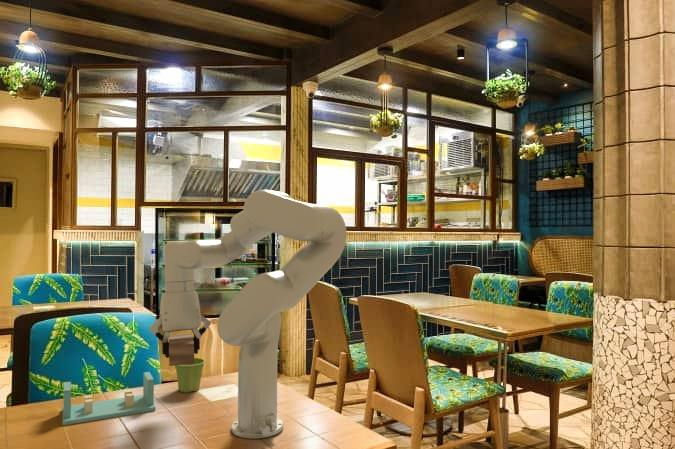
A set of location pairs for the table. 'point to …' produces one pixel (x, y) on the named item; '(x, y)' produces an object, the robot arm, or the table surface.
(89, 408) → the peg stand
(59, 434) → the table surface
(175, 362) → the brown wooden block
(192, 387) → the plant pot
